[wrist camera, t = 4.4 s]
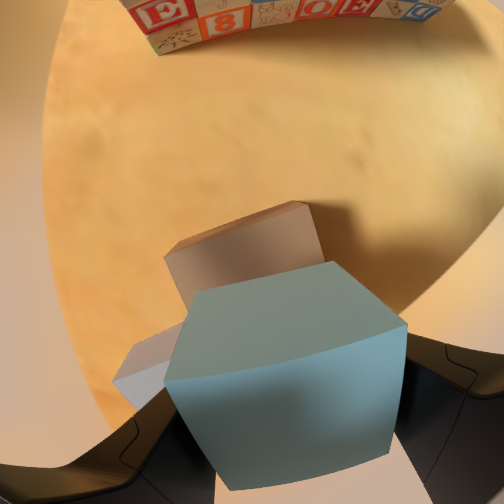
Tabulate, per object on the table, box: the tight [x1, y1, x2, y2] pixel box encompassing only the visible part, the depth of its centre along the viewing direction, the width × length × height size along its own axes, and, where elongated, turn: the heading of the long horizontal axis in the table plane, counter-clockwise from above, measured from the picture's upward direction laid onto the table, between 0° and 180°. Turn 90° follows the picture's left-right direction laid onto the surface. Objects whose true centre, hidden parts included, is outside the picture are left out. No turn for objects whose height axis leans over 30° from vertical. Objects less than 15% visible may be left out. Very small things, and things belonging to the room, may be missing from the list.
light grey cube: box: [112, 322, 184, 411], centre depth 16 cm, size 4×4×4 cm
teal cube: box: [163, 261, 408, 491], centre depth 7 cm, size 4×4×4 cm
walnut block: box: [164, 201, 325, 311], centre depth 15 cm, size 7×7×4 cm
